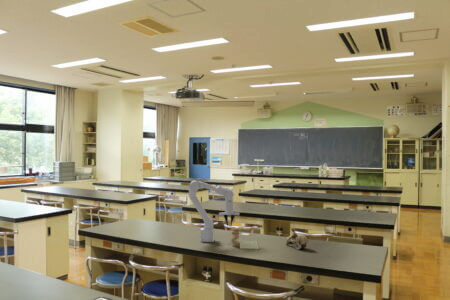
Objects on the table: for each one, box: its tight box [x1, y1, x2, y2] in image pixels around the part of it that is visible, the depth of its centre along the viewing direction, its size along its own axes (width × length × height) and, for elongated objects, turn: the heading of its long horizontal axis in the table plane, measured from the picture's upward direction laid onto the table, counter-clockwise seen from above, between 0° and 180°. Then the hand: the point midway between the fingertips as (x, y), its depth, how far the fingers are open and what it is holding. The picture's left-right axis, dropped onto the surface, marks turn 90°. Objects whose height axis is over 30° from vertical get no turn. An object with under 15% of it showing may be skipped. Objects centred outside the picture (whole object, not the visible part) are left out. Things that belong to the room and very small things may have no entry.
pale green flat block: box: [239, 238, 260, 250], centre depth 235 cm, size 13×20×2 cm, turn 0°
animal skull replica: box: [285, 232, 309, 251], centre depth 230 cm, size 8×17×10 cm, turn 41°
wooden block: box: [230, 229, 240, 247], centre depth 235 cm, size 5×8×9 cm, turn 0°
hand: (229, 225), depth 247 cm, fingers open, 2 cm apart
